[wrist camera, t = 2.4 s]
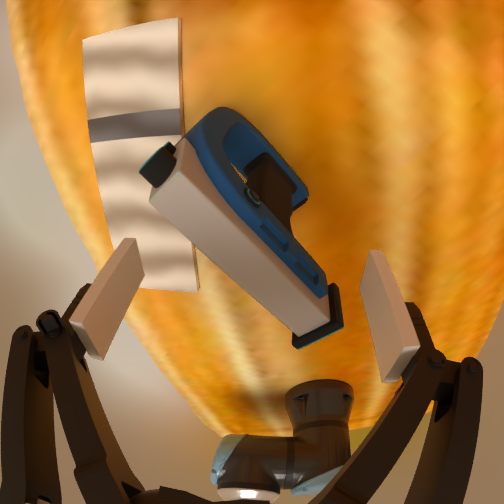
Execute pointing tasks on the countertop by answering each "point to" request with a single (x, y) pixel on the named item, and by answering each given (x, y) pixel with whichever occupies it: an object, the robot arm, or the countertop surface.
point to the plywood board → (138, 140)
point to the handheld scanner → (245, 219)
